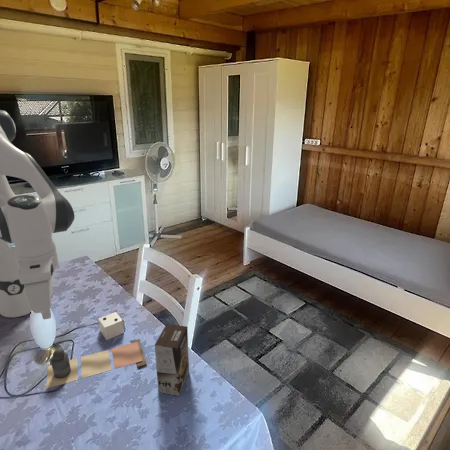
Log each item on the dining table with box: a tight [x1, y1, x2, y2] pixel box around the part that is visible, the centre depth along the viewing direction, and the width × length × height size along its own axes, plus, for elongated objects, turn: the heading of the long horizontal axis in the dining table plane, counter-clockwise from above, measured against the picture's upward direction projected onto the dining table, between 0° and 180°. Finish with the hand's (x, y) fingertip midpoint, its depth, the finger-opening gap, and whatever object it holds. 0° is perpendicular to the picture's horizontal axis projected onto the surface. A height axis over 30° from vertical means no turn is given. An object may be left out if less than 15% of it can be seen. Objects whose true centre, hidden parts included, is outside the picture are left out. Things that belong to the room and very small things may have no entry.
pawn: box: [50, 348, 71, 379], centre depth 93 cm, size 4×4×8 cm
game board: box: [45, 338, 148, 390], centre depth 98 cm, size 12×28×1 cm, turn 114°
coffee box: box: [154, 323, 190, 397], centre depth 90 cm, size 9×6×16 cm
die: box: [98, 311, 125, 341], centre depth 110 cm, size 6×6×6 cm
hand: (48, 307), depth 87 cm, fingers open, 8 cm apart
